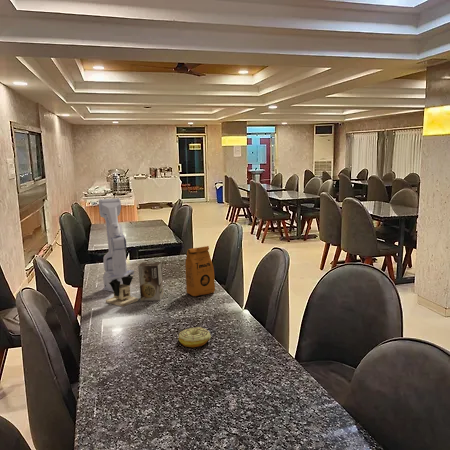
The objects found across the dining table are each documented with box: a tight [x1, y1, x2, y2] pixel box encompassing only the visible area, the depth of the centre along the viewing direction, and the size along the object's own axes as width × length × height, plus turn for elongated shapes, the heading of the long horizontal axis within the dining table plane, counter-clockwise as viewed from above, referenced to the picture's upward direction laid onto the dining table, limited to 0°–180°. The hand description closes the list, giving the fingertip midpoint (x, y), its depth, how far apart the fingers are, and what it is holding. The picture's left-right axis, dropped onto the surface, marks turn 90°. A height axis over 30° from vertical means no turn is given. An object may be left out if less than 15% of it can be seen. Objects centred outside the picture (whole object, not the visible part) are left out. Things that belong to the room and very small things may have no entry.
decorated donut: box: [178, 326, 212, 348], centre depth 139 cm, size 10×11×4 cm
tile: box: [105, 295, 139, 308], centre depth 181 cm, size 11×9×1 cm
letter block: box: [113, 284, 131, 300], centre depth 180 cm, size 5×5×5 cm
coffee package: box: [184, 245, 216, 297], centre depth 186 cm, size 10×12×22 cm
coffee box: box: [137, 261, 164, 302], centre depth 182 cm, size 9×6×16 cm
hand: (121, 293), depth 180 cm, fingers closed on letter block, 5 cm apart
